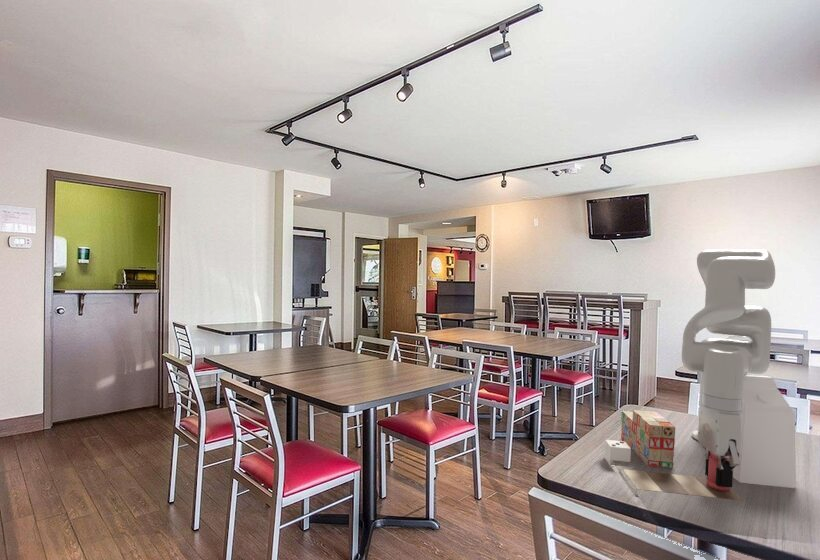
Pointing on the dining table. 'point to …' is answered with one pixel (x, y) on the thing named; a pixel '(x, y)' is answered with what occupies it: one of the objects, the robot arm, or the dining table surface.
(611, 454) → the die
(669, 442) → the stack of blocks
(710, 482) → the pawn
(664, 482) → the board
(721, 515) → the dining table surface
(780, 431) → the milk
